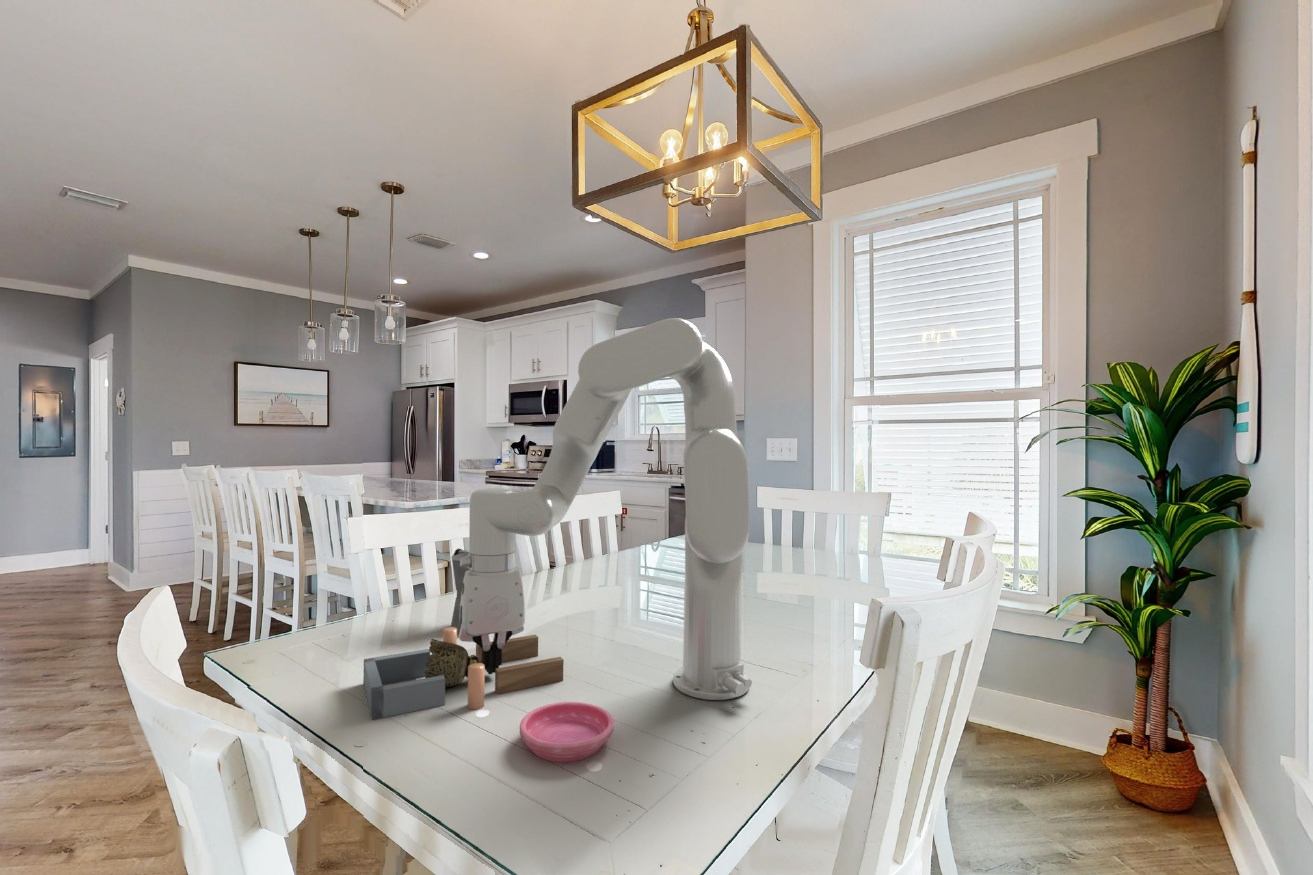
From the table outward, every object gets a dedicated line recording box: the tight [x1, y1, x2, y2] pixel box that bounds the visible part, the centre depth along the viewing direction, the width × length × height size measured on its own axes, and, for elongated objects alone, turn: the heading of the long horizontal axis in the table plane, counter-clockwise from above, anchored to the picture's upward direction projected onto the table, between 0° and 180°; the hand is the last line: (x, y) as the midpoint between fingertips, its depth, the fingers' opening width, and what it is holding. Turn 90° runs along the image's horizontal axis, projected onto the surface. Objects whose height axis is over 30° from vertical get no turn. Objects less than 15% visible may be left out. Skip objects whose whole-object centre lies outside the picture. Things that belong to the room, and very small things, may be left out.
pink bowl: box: [519, 701, 615, 763], centre depth 80 cm, size 12×12×3 cm
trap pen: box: [362, 648, 446, 721], centre depth 94 cm, size 14×10×4 cm
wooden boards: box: [475, 634, 565, 695], centre depth 103 cm, size 14×11×4 cm
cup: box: [424, 638, 478, 688], centre depth 98 cm, size 8×7×8 cm
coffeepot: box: [450, 548, 469, 635], centre depth 127 cm, size 15×9×18 cm, turn 44°
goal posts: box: [442, 626, 486, 710], centre depth 99 cm, size 21×2×6 cm, turn 30°
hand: (491, 670), depth 101 cm, fingers closed
